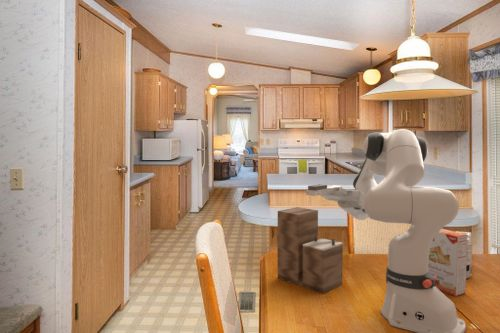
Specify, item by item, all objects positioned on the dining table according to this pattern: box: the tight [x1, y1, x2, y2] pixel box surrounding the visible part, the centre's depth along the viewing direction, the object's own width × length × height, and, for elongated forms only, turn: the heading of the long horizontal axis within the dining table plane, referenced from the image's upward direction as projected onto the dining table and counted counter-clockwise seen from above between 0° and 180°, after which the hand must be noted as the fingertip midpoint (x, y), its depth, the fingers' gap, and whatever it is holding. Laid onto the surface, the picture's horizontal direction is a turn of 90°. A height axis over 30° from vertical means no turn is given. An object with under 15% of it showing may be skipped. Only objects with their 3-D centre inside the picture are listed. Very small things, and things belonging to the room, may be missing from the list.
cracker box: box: [428, 228, 468, 297], centre depth 133 cm, size 14×6×21 cm, turn 27°
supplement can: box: [466, 237, 473, 280], centre depth 145 cm, size 8×8×15 cm
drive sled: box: [305, 183, 343, 197], centre depth 155 cm, size 4×20×4 cm, turn 135°
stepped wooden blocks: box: [277, 206, 344, 294], centre depth 140 cm, size 21×12×26 cm, turn 44°
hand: (333, 187), depth 159 cm, fingers closed on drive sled, 4 cm apart
